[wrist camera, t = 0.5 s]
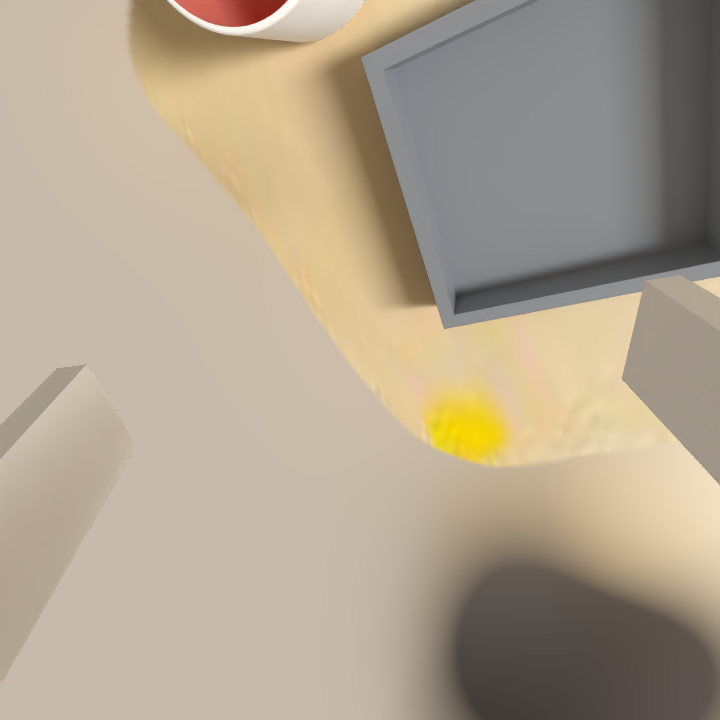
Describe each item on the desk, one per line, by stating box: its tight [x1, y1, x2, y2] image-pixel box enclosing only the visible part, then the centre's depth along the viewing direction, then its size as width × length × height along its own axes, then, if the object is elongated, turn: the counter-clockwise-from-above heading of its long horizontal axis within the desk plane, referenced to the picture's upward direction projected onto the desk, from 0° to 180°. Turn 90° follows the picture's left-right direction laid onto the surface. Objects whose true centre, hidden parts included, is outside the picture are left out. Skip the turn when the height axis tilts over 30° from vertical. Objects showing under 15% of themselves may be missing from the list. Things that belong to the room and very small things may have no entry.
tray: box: [361, 0, 720, 329], centre depth 26 cm, size 18×18×4 cm
